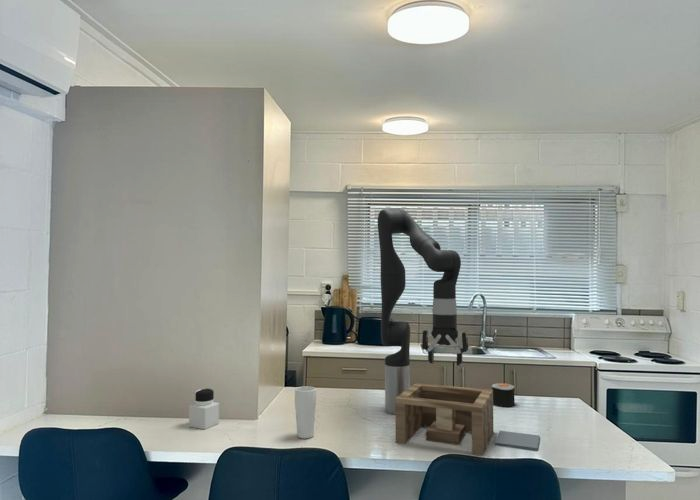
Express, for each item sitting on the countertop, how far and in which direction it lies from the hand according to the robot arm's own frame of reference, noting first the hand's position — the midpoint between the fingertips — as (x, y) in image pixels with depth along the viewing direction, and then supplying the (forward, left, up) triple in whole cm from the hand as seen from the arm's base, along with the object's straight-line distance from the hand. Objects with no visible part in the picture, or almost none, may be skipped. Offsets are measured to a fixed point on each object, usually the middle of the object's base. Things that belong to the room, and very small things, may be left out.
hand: (445, 364), depth 157 cm
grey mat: (-5, +21, -23) cm, 31 cm away
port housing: (0, 0, -23) cm, 23 cm away
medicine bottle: (+21, -78, -23) cm, 84 cm away
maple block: (0, 0, -20) cm, 20 cm away
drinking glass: (+17, -41, -23) cm, 50 cm away
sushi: (-46, +12, -23) cm, 53 cm away
